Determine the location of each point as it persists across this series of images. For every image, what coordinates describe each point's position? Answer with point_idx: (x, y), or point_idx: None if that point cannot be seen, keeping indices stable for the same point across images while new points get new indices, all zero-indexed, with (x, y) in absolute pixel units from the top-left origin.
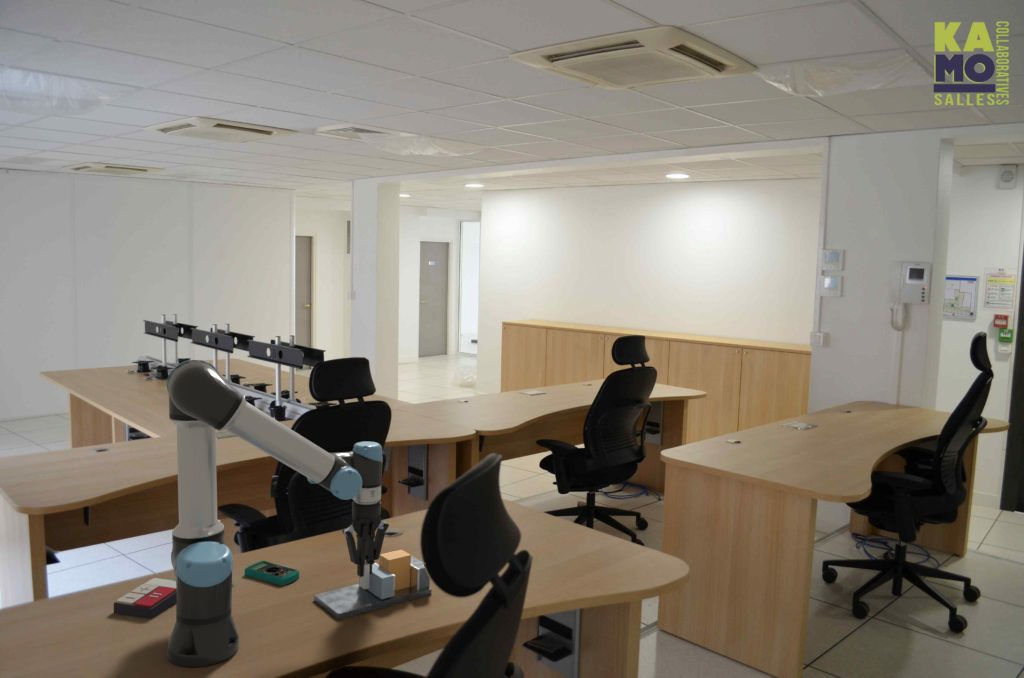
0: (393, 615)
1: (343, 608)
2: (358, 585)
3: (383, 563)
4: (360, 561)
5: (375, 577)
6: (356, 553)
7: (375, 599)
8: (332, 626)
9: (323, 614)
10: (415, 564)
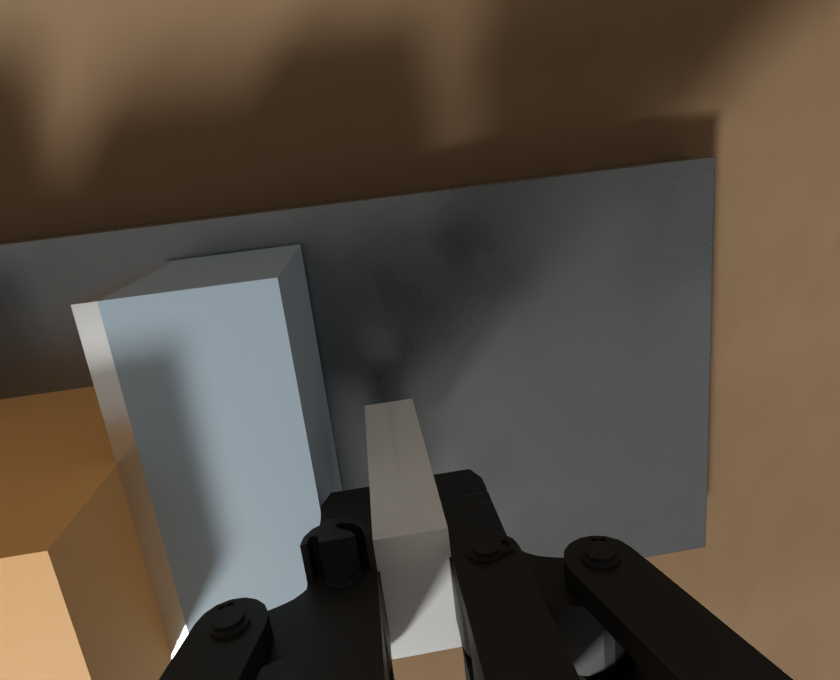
0: (273, 11)
1: (636, 241)
2: None
3: (129, 610)
4: (530, 578)
5: (308, 417)
6: (694, 672)
7: (339, 287)
8: (771, 72)
9: (729, 296)
10: None
